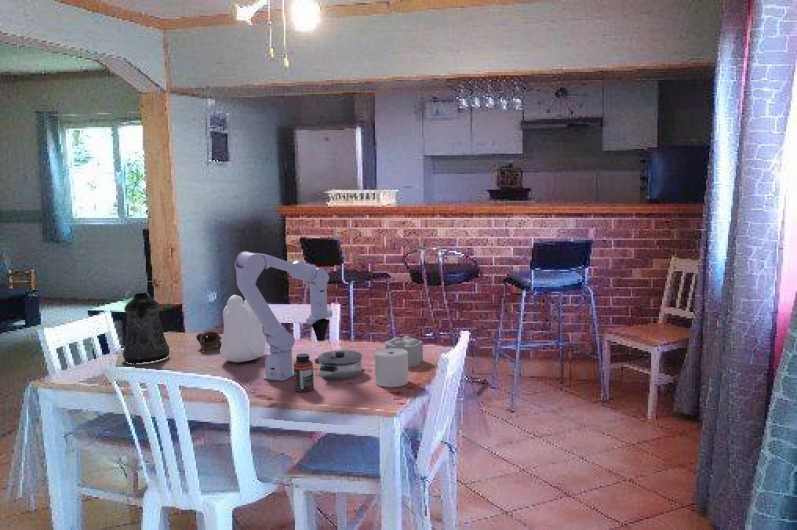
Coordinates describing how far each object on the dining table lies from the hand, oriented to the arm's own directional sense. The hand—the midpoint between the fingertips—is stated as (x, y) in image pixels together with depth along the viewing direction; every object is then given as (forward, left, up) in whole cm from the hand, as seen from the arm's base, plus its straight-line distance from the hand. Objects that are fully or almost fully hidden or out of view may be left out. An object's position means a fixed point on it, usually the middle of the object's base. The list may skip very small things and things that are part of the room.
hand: (320, 340), depth 249 cm
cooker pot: (-5, -10, -10) cm, 15 cm away
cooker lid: (-5, -10, -5) cm, 12 cm away
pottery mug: (+10, +55, -10) cm, 57 cm away
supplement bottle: (-24, -7, -10) cm, 27 cm away
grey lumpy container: (+14, -25, -10) cm, 30 cm away
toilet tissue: (-9, -30, -10) cm, 33 cm away
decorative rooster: (+3, +32, -10) cm, 34 cm away
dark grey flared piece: (-10, +68, -10) cm, 70 cm away
